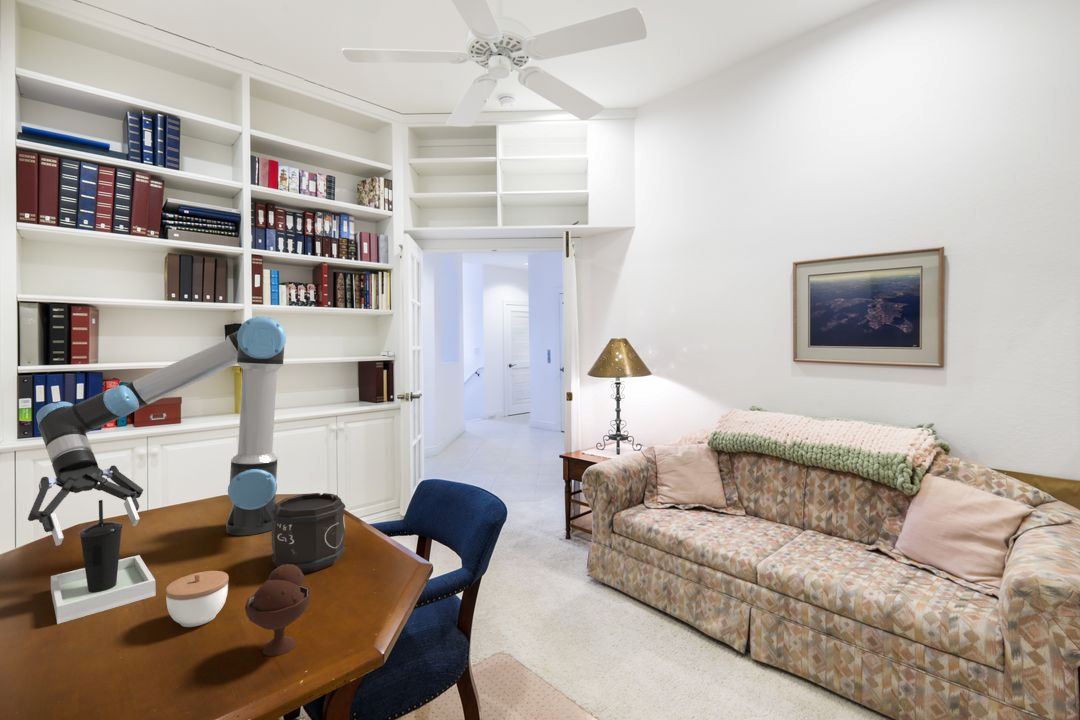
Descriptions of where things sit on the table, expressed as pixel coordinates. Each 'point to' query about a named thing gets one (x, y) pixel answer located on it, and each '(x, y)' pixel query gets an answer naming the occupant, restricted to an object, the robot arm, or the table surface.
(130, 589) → the tray
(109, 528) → the drinking cup
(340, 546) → the labeled octagonal canister
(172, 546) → the table surface
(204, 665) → the table surface
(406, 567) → the table surface
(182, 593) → the lidded jar
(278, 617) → the ice cream bowl
